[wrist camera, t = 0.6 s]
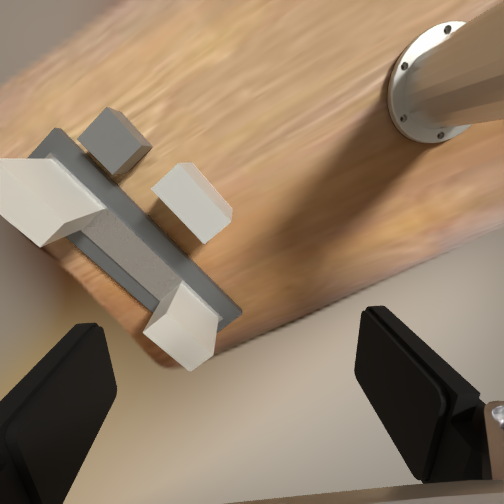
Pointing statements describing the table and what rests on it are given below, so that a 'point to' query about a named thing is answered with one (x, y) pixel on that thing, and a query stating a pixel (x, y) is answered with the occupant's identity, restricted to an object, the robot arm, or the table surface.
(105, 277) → the table surface
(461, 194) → the table surface
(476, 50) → the robot arm
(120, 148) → the block
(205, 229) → the block
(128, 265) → the metal rail
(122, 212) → the rail board
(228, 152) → the table surface
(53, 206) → the mounted modules
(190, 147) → the table surface
